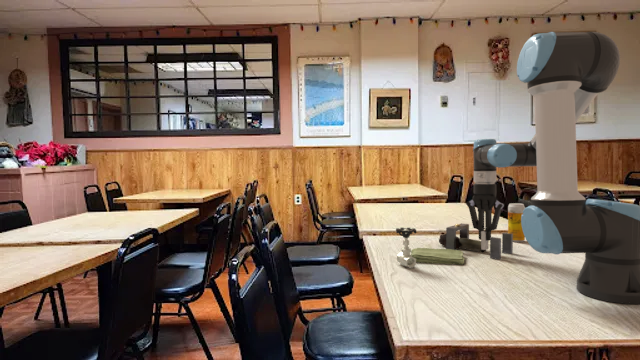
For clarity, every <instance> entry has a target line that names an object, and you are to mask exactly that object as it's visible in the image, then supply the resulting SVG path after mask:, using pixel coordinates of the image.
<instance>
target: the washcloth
mask: <svg viewBox="0 0 640 360" xmlns="http://www.w3.org/2000/svg"><path fill="white" fill-rule="evenodd" d="M410 255H411V256H412V257H413V258H415V259H416V264H417V263H419V264H431V265H432V264H434V265H435V264H437V265H440V264H441V265H459V266H463V265H464V264H465V256H464V251H462V250H459V249H456V250H452V249H446V248H430V247H417V248H416V247H415V248H411V252H410Z"/></svg>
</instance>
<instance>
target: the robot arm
mask: <svg viewBox="0 0 640 360" xmlns="http://www.w3.org/2000/svg"><path fill="white" fill-rule="evenodd" d="M620 64H621V55H620V49H619V47H618V45H617V44H616V42H615V41H614V39H612V38H611V37H610V36H608V35H607V34H605V33H601V32H598V31H586V32H583V31H581V32H579V31H578V32H575V31H574V32H573V31H570V32H569V31H568V32H567V31H564V32H557V31H556V32H555V31H549V32H542V33H536V34H533V35H532V36H531V37H529V38H527V40H526V42H525V43H524V44H523V46H522V48H521V50H520V52H519V55H518V58H517V63H516V75H517V77H518V79H519V82H521V83H524V84H527V93H529V94H530V95H531V96H532V97H533V98H534V120H535V121H534V122H535V123H534V124H535V125H534V126H535V134H534V135H533V137H532V138H531V139H530V141H529V143H527V142H525V143H504V142H503V143H501V142H500V143H497V140H496V139H494V138H484V139H482V138H480V139H475V140H474V141H473V149H472V152H473V182H474V184H473V196H472V199H470V200H469V201H466V203H465V204H466V205H467V208H468V209H469V214H470V219H471V223H472V227H473V229H476V230H478V239H479V241H481V250H486V251H487V250H488V249H489V242H490V238H491V237H492V231H495V230H497V228H498V225H499V220H500V217H501V213H502V210H503V209H504V208H505V203H502V202H500V201H499V199H498V196H497V184H496V183H497V179H498V178H497V168H498V169H499V168H508V167H509V168H513V167H514V168H515V167H536V187H537V190H536V191H537V192H536V193H535V194H534V195H533V196H531V198H530V205H528V206H527V207H525V209H524V210H523V214H522V217H521V224H522V230H523V233H524V236H525V240H526V241H527V243H528V245H529V246H530V247H531V248H532V249H533V250H534V251H535V252H538V253H540V254H553V255H559V254H584V262H583V264H582V266H581V269H580V271H579V273H578V276H577V278H576V290H577V292H579V293H580V294H583V295H584V296H587V297H590V298H593V299H596V300H599V301H605V302H610V303H617V304H627V305H628V304H629V305H640V205H638V204H636V203H635V204H634V203H628V202H622V201H621V202H620V201H615V200H614V201H613V200H605V199H604V200H603V199H596V198H587V199H586V197H585V196H584V195H583V194H581V193H580V191H579V190H578V187H579V186H578V185H579V184H578V159H577V157H578V156H577V154H578V153H577V130H576V128H577V127H576V123H577V122H578V121H579V119H580V118H581V117H582V116H583V114H584V113H585V111H586V110H587V109H588V107H589V106H591V104H592V102H593V101H594V99H596V97H597V95H598V94H602V93H605V91H607V89H608V88H609V87H610V86H611V85H612V83H613V82H614V81H615V78H616V76H617V74H618V71H619V68H620ZM475 206H476V207H477V210H476V207H475ZM494 206H495V209H494ZM493 209H494V214H493V218H492V213H493Z"/></svg>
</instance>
